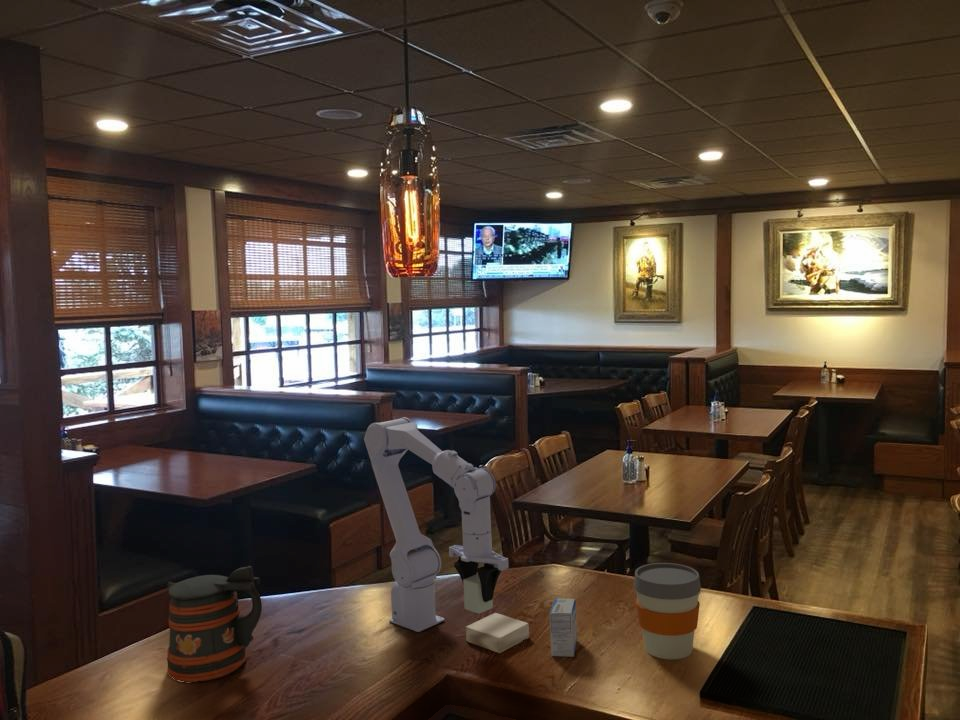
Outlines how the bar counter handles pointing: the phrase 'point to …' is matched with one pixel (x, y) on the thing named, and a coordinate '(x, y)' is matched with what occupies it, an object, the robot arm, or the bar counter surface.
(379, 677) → the bar counter surface
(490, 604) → the sage block
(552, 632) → the medicine box
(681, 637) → the reusable coffee cup
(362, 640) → the bar counter surface
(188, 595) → the beer stein
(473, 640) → the birch block
